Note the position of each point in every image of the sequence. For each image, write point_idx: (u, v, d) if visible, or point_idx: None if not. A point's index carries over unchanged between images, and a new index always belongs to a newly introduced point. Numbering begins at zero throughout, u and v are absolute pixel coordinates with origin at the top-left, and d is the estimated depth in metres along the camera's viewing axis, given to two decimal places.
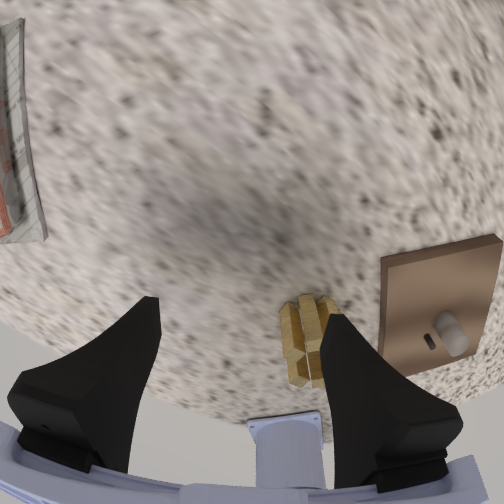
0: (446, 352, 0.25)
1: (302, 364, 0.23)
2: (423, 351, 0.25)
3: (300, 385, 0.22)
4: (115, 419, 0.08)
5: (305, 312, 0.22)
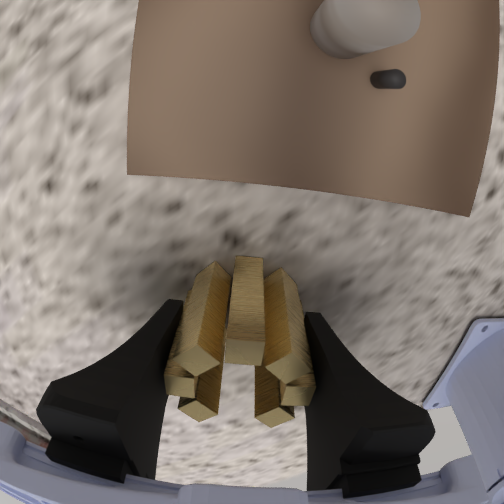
0: (462, 37, 0.08)
1: (267, 383, 0.12)
2: (430, 96, 0.09)
3: (287, 418, 0.11)
4: (147, 426, 0.08)
5: None
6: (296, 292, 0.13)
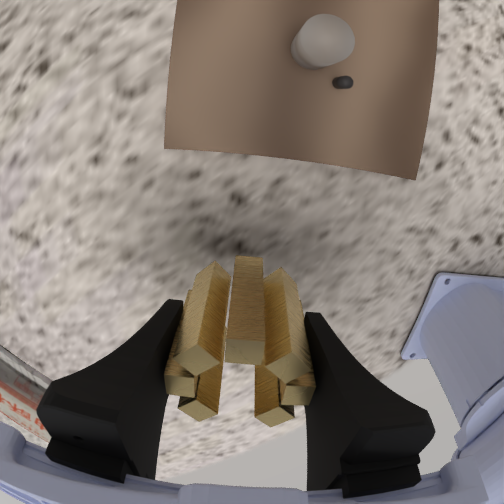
0: (404, 47, 0.12)
1: (267, 383, 0.12)
2: (377, 92, 0.13)
3: (287, 417, 0.11)
4: (147, 426, 0.08)
5: None
6: (296, 292, 0.13)
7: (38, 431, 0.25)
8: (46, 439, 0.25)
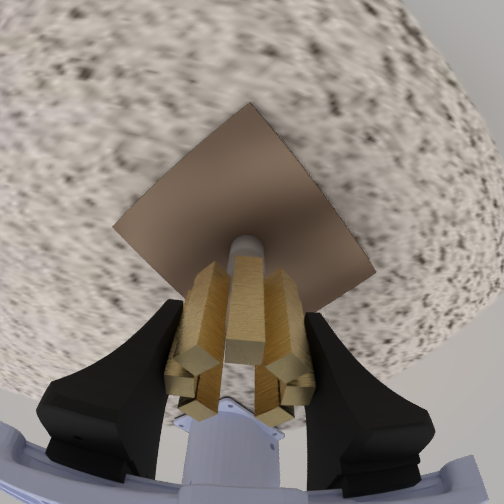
0: (309, 287, 0.21)
1: (267, 383, 0.12)
2: None
3: (287, 417, 0.11)
4: (147, 426, 0.08)
5: None
6: (296, 292, 0.13)
7: None
8: None
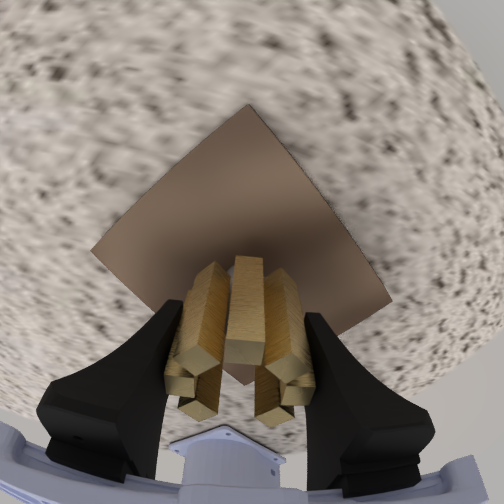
0: None
1: (267, 383, 0.12)
2: None
3: (287, 417, 0.11)
4: (147, 426, 0.08)
5: None
6: (296, 292, 0.13)
7: None
8: None
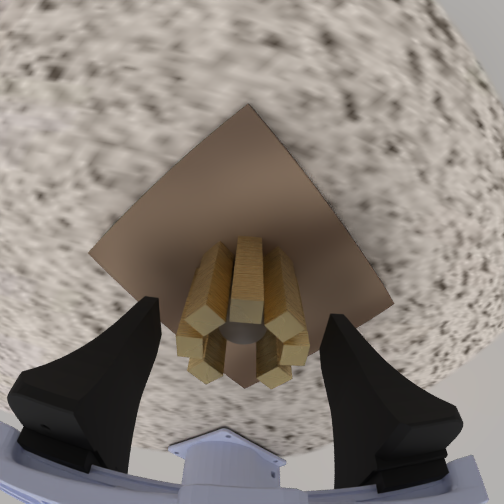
0: (316, 322, 0.17)
1: (267, 348, 0.14)
2: None
3: (285, 378, 0.13)
4: (115, 419, 0.08)
5: None
6: (292, 267, 0.15)
7: None
8: None
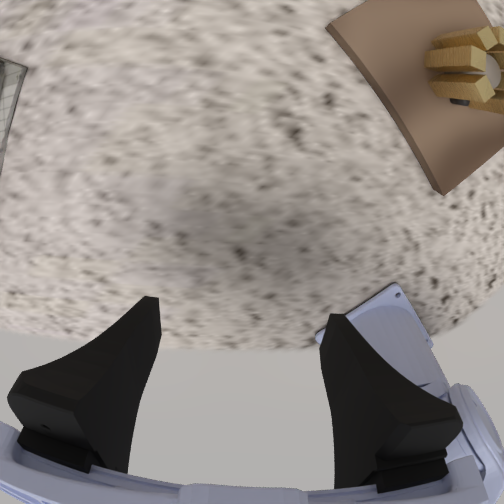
0: (496, 121, 0.16)
1: (502, 94, 0.12)
2: (466, 126, 0.16)
3: None
4: (115, 419, 0.08)
5: (441, 61, 0.13)
6: None
7: None
8: None
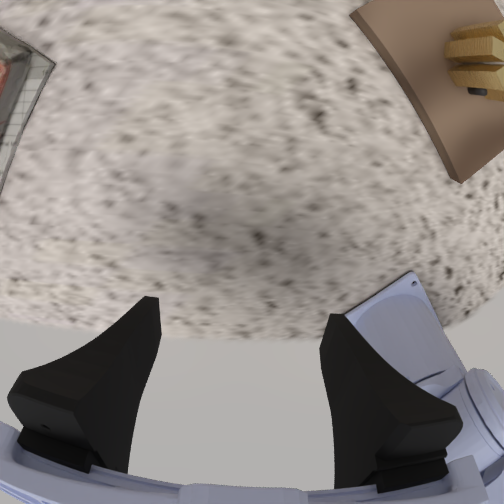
0: None
1: None
2: (482, 116, 0.16)
3: None
4: (115, 419, 0.08)
5: (462, 51, 0.12)
6: None
7: None
8: None
